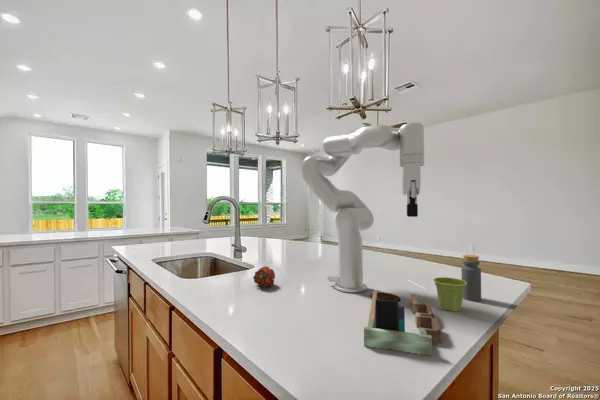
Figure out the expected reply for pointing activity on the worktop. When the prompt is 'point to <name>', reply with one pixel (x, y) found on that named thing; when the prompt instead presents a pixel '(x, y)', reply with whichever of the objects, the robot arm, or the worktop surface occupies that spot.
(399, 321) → the black blue bulged block
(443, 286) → the plant pot
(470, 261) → the bottle
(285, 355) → the worktop surface
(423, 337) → the trap channel
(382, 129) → the robot arm
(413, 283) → the white baseball bat
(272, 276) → the dragon fruit
